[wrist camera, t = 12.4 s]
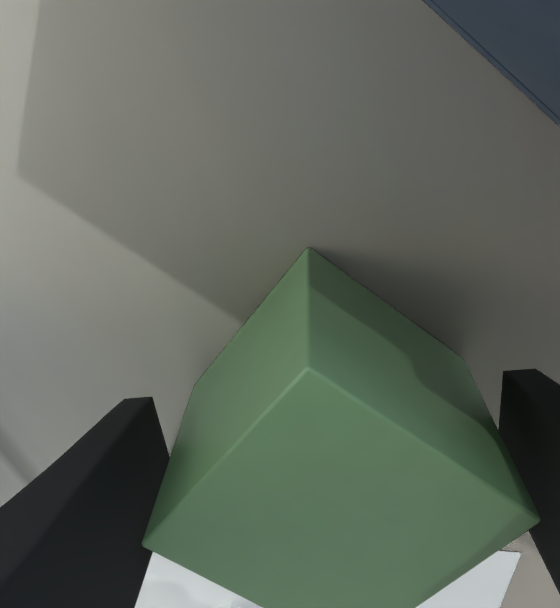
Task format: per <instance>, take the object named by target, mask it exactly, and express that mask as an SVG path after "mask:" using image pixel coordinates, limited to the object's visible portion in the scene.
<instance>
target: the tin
mask: <svg viewBox="0 0 560 608" xmlns="http://www.w3.org/2000/svg"><path fill="white" fill-rule="evenodd" d="M423 1H424V2H425V3H426V4H427V5H428V6H429V7H430V8H432V9H433V10H434V11H435V12H436V13H437V14H438V15H439V16H440V17H441V18H442V19H443V20H445V21H446V22H447V23H448V24H449V25H450V26H451V27H452V28H453V29H454V30H455V31H456V32H458V33H459V34H460V35H461V36H462V37H463V38H464V39H465V40H466V41H467V42H468V43H469V44H471V45H472V46H473V47H474V48H475V49H476V50H477V51H478V52H479V53H480V54H481V55H482V56H484V57H485V58H486V59H487V60H488V61H489V62H490V63H491V64H492V65H493V66H494V67H496V68H497V69H498V70H499V71H500V72H501V73H502V74H503V75H504V76H505V77H506V78H507V79H509V80H510V81H511V82H512V83H513V84H514V85H515V86H516V87H517V88H518V89H519V90H520V91H522V92H523V93H524V94H525V95H526V96H527V97H528V98H529V99H530V100H531V101H532V102H533V103H535V104H536V105H537V106H538V107H539V108H540V109H541V110H542V111H543V112H544V113H545V114H547V115H548V116H549V117H550V118H551V119H552V120H553V121H554V122H555V123H556V124H557V125H558V126H560V0H423Z"/></svg>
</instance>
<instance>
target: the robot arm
mask: <svg viewBox="0 0 560 608" xmlns="http://www.w3.org/2000/svg"><path fill="white" fill-rule="evenodd" d="M499 433H500V435H501V437H502V440H503V442H504V444H505V446H506V448H507V450H508V452H509V454H510V456H511V458H512V460H513V462H514V464H515V466H516V469H517V471H518V473H519V475H520V477H521V479H522V481H523V483H524V485H525V487H526V489H527V491H528V493H529V495H530V498H531V500H532V502H533V504H534V506H535V508H536V510H537V512H538V514H539V516H540V518H541V521H540V522H539V523H538V524H537V525H535V526H534V527H532V528H531V529H529V532H530V534H531V536H532V538H533V540H534V542H535V545H536V547H537V549H538V551H539V553H540V555H541V557H542V559H543V561H544V563H545V565H546V567H547V569H548V571H549V573H550V575H551V577H552V579H553V581H554V583H555V585H556V587H557V590H558V592H559V594H560V385H559V384H558V383H556V382H555V381H553V380H552V379H550V378H549V377H547V376H546V375H544V374H543V373H541V372H540V371H538V370H537V369H524V370H510V371H503V380H502V393H501V406H500V418H499ZM169 460H170V457H169V454H168V450H167V447H166V443H165V440H164V436H163V433H162V429H161V426H160V422H159V419H158V415H157V412H156V408H155V405H154V401H153V398H152V397H143V398H129V399H124V400H123V401H121V402H120V403H119V404H118V405H117V406H115V407H114V408H113V409H112V410H111V411H110V412H109V413H108V414H107V415H105V416H104V417H103V418H102V419H101V420H100V421H99V422H98V423H97V424H96V425H95V426H94V427H92V428H91V429H90V430H89V431H88V432H87V433H86V434H85V435H84V436H83V437H82V438H81V439H79V440H78V441H77V442H76V443H75V444H74V445H73V446H72V447H71V448H70V449H68V450H67V451H66V452H65V453H64V454H63V455H62V456H61V457H60V458H59V459H57V460H56V461H55V462H54V463H53V464H52V465H51V466H50V467H48V468H47V469H46V470H45V471H44V472H42V473H41V474H40V475H39V476H38V477H36V478H35V479H34V480H33V481H32V482H31V483H29V484H28V485H27V486H26V487H25V488H23V489H22V490H21V491H20V492H19V493H17V494H16V495H15V496H14V497H13V498H12V499H10V500H9V501H8V502H7V503H5V504H4V505H3V506H2V507H0V608H135V605H136V602H137V599H138V596H139V593H140V590H141V587H142V584H143V580H144V577H145V574H146V571H147V568H148V565H149V562H150V559H151V556H152V553H153V551H151V550H149V549H147V548H145V547H143V546H142V541H143V538H144V535H145V532H146V529H147V526H148V523H149V520H150V517H151V514H152V511H153V508H154V505H155V502H156V499H157V496H158V493H159V490H160V487H161V484H162V481H163V478H164V475H165V472H166V469H167V466H168V463H169Z"/></svg>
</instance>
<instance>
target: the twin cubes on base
mask: <svg viewBox="0 0 560 608" xmlns="http://www.w3.org/2000/svg"><path fill="white" fill-rule="evenodd" d="M520 555H521V553H518V552H507V551H497V552H496V553H494V554H493V555H491V556H490V557H489V558H487V559H486V560H484V561H483V562H481V563H480V564H478V565H477V566H475V567H474V568H473V569H471V570H470V571H468V572H467V573H465V574H464V575H462V576H461V577H460V578H458V579H457V580H455V581H454V582H452V583H451V584H449V585H448V586H446V587H445V588H444V589H442V590H441V591H439V592H438V593H436V594H435V595H433V596H432V597H430V598H429V599H428V600H426V601H425V602H423V603H422V604H420V605H419V606H417V607H416V608H500V605H501V603H502V600H503V598H504V595H505V593H506V590H507V588H508V585H509V583H510V580H511V578H512V575H513V573H514V570H515V568H516V565H517V563H518V560H519V558H520ZM135 608H263V607H261V606H259V605H257V604H255V603H253V602H251V601H249V600H247V599H245V598H243V597H241V596H239V595H237V594H235V593H233V592H231V591H229V590H227V589H225V588H223V587H221V586H219V585H217V584H215V583H214V582H212V581H210V580H208V579H206V578H204V577H202V576H200V575H198V574H196V573H194V572H192V571H190V570H188V569H186V568H184V567H182V566H180V565H178V564H176V563H174V562H172V561H170V560H168V559H166V558H164V557H162V556H160V555H158V554H157V553H155V552H153V553H152V556H151V559H150V562H149V565H148V568H147V571H146V574H145V577H144V580H143V584H142V587H141V590H140V593H139V596H138V599H137V602H136V605H135Z"/></svg>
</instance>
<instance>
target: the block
mask: <svg viewBox="0 0 560 608" xmlns="http://www.w3.org/2000/svg"><path fill="white" fill-rule="evenodd" d="M540 521H541V518H540V516H539V514H538V512H537V510H536V508H535V506H534V504H533V502H532V500H531V498H530V495H529V493H528V491H527V489H526V487H525V485H524V483H523V481H522V479H521V477H520V475H519V473H518V471H517V469H516V466H515V464H514V462H513V460H512V458H511V456H510V454H509V452H508V450H507V448H506V446H505V444H504V442H503V440H502V437H501V435H500V433H499V431H498V429H497V427H496V425H495V423H494V421H493V419H492V417H491V415H490V413H489V410H488V408H487V406H486V404H485V402H484V400H483V398H482V396H481V394H480V392H479V390H478V388H477V386H476V384H475V381H474V379H473V377H472V375H471V373H470V371H469V369H468V367H467V365H466V363H465V361H464V359H463V358H462V357H460V356H459V355H457V354H456V353H455V352H453V351H452V350H451V349H449V348H448V347H446V346H445V345H444V344H442V343H441V342H439V341H438V340H437V339H435V338H434V337H433V336H431V335H430V334H428V333H427V332H426V331H424V330H423V329H422V328H420V327H419V326H417V325H416V324H415V323H413V322H412V321H410V320H409V319H408V318H406V317H405V316H404V315H402V314H401V313H399V312H398V311H397V310H395V309H394V308H393V307H391V306H390V305H388V304H387V303H386V302H384V301H383V300H381V299H380V298H379V297H377V296H376V295H375V294H373V293H372V292H370V291H369V290H368V289H366V288H365V287H364V286H362V285H361V284H359V283H358V282H357V281H355V280H354V279H353V278H351V277H350V276H348V275H347V274H346V273H344V272H343V271H341V270H340V269H339V268H337V267H336V266H335V265H333V264H332V263H330V262H329V261H328V260H326V259H325V258H324V257H322V256H321V255H319V254H318V253H317V252H315V251H314V250H312V249H311V248H309V247H308V248H306V250H305V251H304V252H303V253H302V254H301V256H300V257H299V258H298V259H297V260H296V262H295V263H294V264H293V265H292V267H291V268H290V269H289V270H288V271H287V273H286V274H285V275H284V276H283V278H282V279H281V280H280V281H279V282H278V284H277V285H276V286H275V287H274V289H273V290H272V291H271V292H270V293H269V295H268V296H267V297H266V298H265V299H264V301H263V302H262V303H261V304H260V306H259V307H258V308H257V309H256V310H255V312H254V313H253V314H252V315H251V317H250V318H249V319H248V320H247V321H246V323H245V324H244V325H243V326H242V327H241V329H240V330H239V331H238V332H237V334H236V335H235V336H234V337H233V338H232V340H231V341H230V342H229V343H228V345H227V346H226V347H225V348H224V349H223V351H222V352H221V353H220V354H219V356H218V357H217V358H216V359H215V360H214V362H213V363H212V364H211V365H210V366H209V368H208V369H207V370H206V371H205V373H204V374H203V375H202V376H201V377H200V379H199V380H198V381H197V382H196V384H195V385H194V387H193V390H192V393H191V396H190V399H189V402H188V405H187V409H186V412H185V415H184V418H183V421H182V424H181V427H180V430H179V433H178V436H177V439H176V442H175V445H174V448H173V451H172V454H171V457H170V460H169V463H168V466H167V469H166V472H165V475H164V478H163V481H162V484H161V487H160V490H159V493H158V496H157V499H156V502H155V505H154V508H153V511H152V514H151V517H150V520H149V523H148V526H147V529H146V532H145V535H144V538H143V541H142V546H143V547H145V548H147V549H149V550H151V551H153V552H155V553H157V554H158V555H160V556H162V557H164V558H166V559H168V560H170V561H172V562H174V563H176V564H178V565H180V566H182V567H184V568H186V569H188V570H190V571H192V572H194V573H196V574H198V575H200V576H202V577H204V578H206V579H208V580H210V581H212V582H214V583H215V584H217V585H219V586H221V587H223V588H225V589H227V590H229V591H231V592H233V593H235V594H237V595H239V596H241V597H243V598H245V599H247V600H249V601H251V602H253V603H255V604H257V605H259V606H261V607H263V608H416V607H417V606H419V605H420V604H422V603H423V602H425V601H426V600H428V599H429V598H430V597H432V596H433V595H435V594H436V593H438V592H439V591H441V590H442V589H444V588H445V587H446V586H448V585H449V584H451V583H452V582H454V581H455V580H457V579H458V578H460V577H461V576H462V575H464V574H465V573H467V572H468V571H470V570H471V569H473V568H474V567H475V566H477V565H478V564H480V563H481V562H483V561H484V560H486V559H487V558H489V557H490V556H491V555H493V554H494V553H496V552H497V551H499V550H500V549H502V548H503V547H505V546H506V545H507V544H509V543H510V542H512V541H513V540H515V539H516V538H518V537H519V536H521V535H522V534H523V533H525V532H526V531H528V530H529V529H531V528H532V527H534V526H535V525H537V524H538V523H539V522H540Z"/></svg>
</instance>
